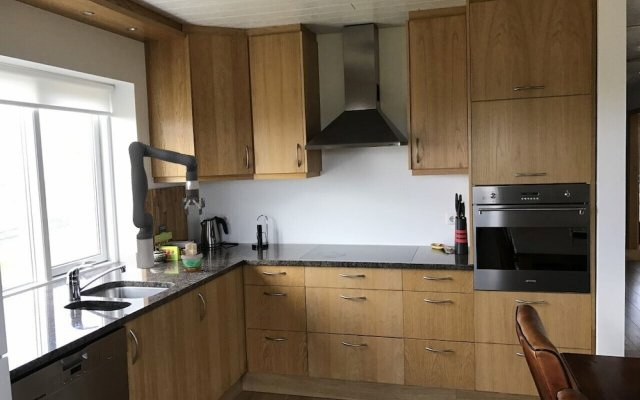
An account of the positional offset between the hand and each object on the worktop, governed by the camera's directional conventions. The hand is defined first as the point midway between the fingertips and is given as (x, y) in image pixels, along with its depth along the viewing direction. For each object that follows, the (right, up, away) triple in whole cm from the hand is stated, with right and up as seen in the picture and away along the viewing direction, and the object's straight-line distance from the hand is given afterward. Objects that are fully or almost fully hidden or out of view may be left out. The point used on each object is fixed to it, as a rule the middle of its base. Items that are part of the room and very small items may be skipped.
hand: (193, 215), depth 317 cm
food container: (+4, -32, -20) cm, 38 cm away
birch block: (+4, -22, -20) cm, 30 cm away
